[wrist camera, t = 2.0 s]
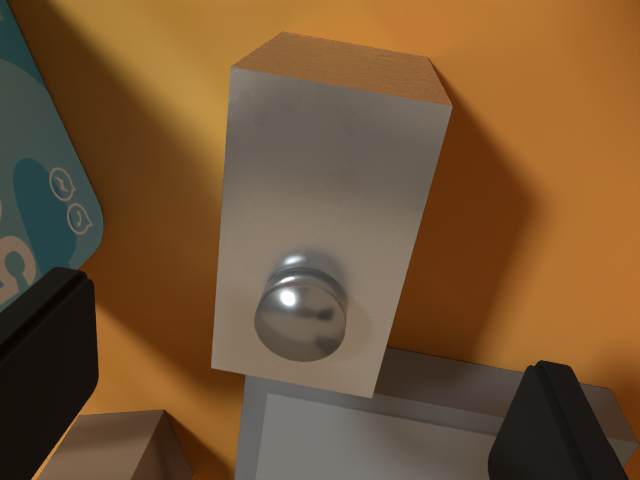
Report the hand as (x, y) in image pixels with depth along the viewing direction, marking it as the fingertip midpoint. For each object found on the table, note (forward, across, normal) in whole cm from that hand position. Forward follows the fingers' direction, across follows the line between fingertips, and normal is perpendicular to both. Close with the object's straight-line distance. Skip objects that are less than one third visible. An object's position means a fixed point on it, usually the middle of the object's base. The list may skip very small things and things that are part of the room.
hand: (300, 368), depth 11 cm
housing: (+10, 0, -1) cm, 10 cm away
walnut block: (+11, +8, +17) cm, 22 cm away
